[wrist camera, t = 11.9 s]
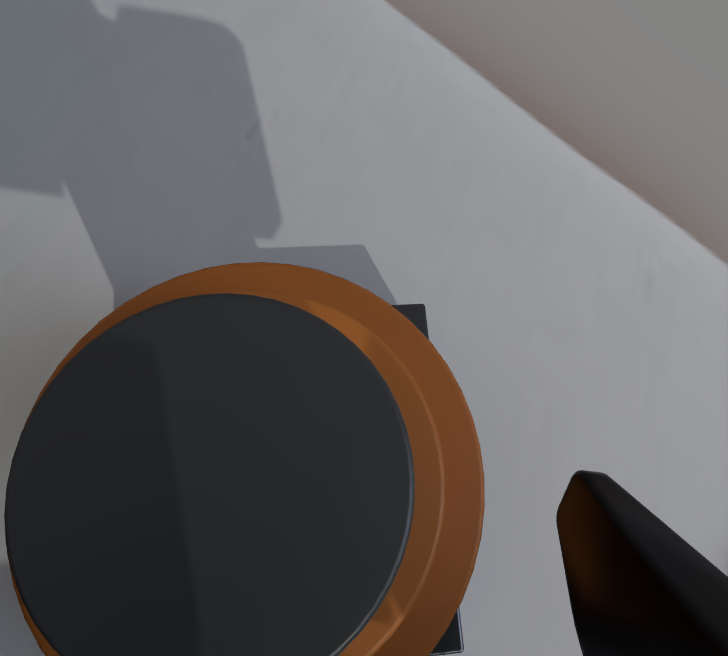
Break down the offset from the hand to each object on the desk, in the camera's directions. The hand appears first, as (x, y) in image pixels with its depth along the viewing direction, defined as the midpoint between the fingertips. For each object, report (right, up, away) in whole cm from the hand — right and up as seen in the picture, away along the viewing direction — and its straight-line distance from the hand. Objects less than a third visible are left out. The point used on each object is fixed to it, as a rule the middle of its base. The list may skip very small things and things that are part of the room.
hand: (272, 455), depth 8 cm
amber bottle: (-1, -2, +8) cm, 8 cm away
